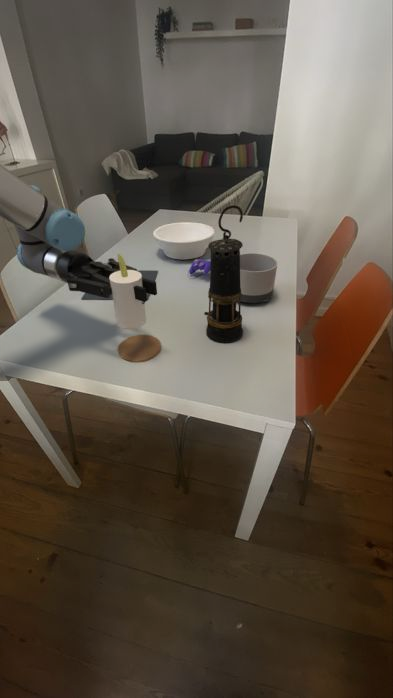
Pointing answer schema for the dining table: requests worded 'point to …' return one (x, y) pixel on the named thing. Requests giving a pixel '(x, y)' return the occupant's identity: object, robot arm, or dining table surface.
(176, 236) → the bowl
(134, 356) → the coaster
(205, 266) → the game controller
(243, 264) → the planter
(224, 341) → the lantern
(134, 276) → the candle
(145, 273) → the placemat
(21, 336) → the dining table surface
